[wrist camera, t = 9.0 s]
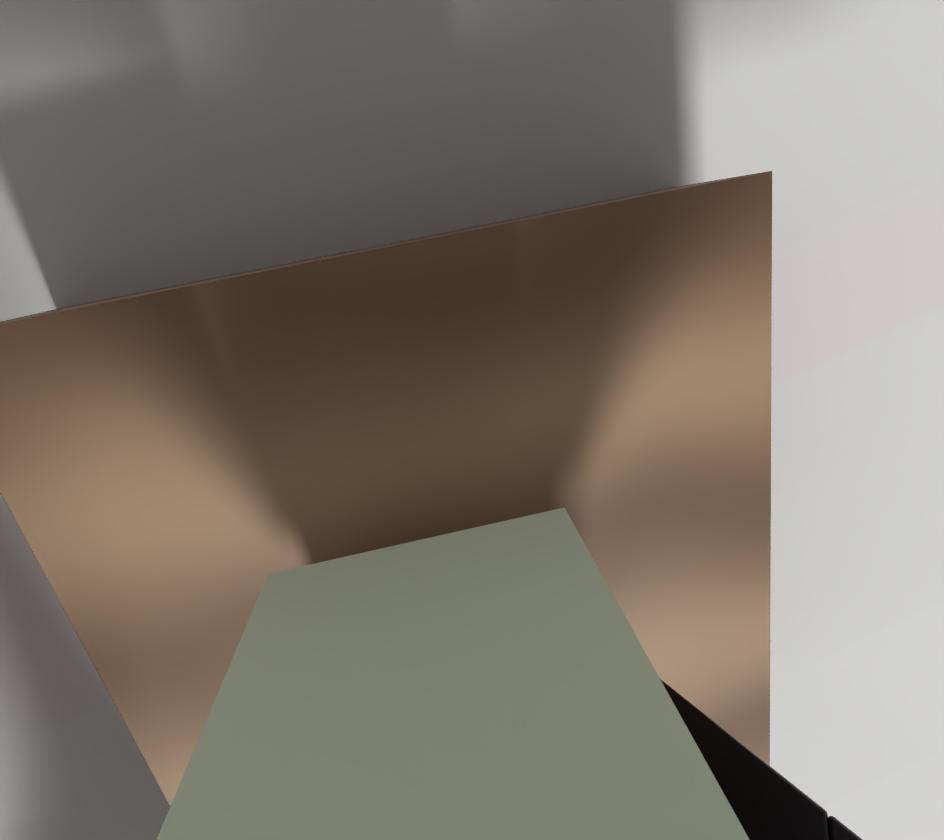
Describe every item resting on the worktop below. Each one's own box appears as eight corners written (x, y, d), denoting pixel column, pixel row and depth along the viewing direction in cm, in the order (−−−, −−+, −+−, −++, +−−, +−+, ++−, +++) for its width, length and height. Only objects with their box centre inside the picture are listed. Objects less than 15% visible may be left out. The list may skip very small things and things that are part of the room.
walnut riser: (692, 651, 18) (769, 765, 14) (261, 751, 17) (220, 898, 13) (665, 188, 13) (771, 171, 9) (68, 306, 12) (-82, 339, 9)
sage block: (597, 726, 11) (801, 1266, 5) (348, 786, 11) (276, 1414, 5) (564, 507, 9) (814, 955, 3) (267, 574, 9) (20, 1162, 3)
